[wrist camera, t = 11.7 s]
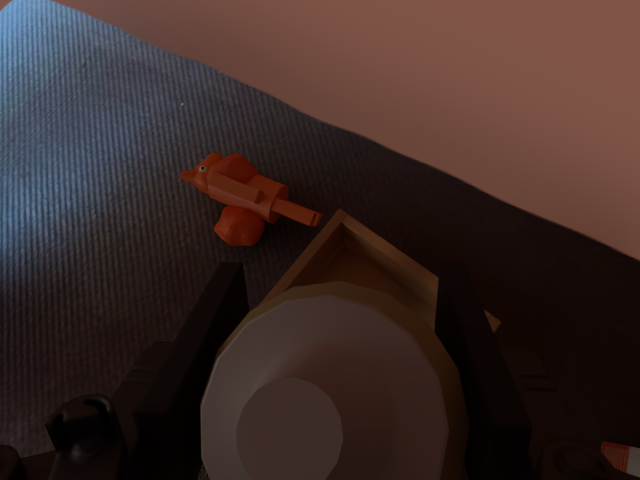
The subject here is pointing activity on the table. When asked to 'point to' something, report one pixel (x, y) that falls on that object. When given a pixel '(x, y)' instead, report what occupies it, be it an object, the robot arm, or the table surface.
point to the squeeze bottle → (333, 393)
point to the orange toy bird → (245, 198)
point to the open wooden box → (364, 267)
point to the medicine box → (622, 457)
